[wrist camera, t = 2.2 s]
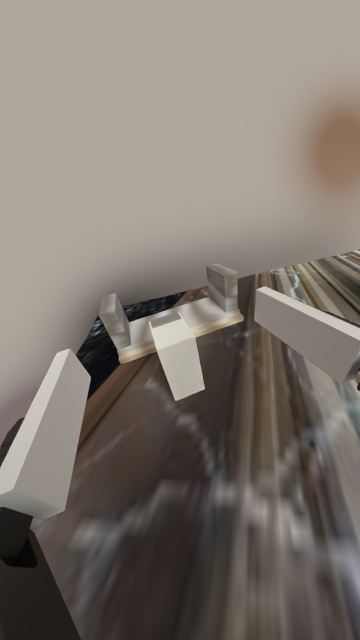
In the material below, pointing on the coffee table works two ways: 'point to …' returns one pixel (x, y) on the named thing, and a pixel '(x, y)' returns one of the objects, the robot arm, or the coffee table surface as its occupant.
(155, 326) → the block
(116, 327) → the board
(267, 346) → the coffee table surface
